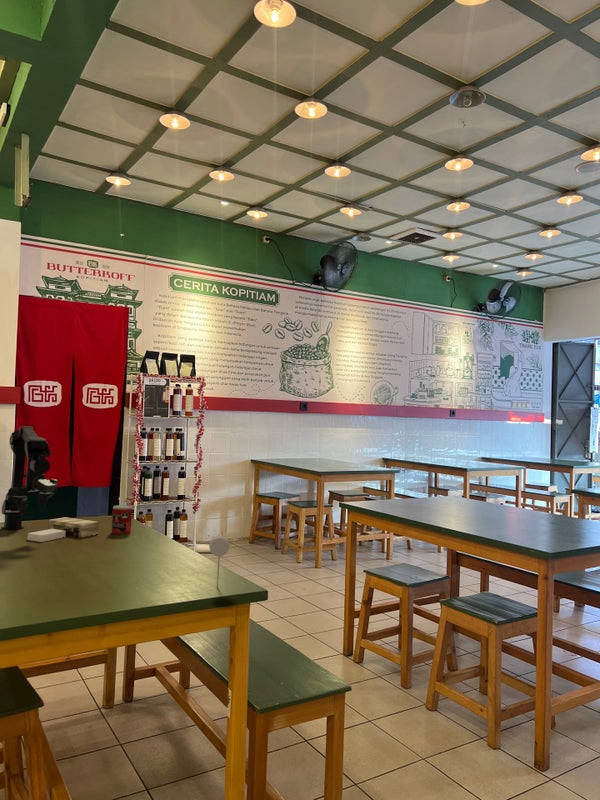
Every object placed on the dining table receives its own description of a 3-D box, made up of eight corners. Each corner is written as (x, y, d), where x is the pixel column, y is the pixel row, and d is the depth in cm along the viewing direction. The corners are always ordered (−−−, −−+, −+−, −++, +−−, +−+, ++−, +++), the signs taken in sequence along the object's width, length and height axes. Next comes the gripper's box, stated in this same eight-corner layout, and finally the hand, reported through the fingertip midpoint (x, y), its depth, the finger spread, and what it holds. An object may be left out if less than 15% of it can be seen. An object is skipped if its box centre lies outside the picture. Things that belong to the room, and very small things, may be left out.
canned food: (107, 533, 249) (109, 506, 250) (118, 530, 257) (120, 504, 257) (123, 535, 247) (125, 508, 248) (134, 532, 255) (135, 506, 255)
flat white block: (27, 539, 229) (28, 533, 229) (52, 535, 240) (52, 528, 240) (41, 542, 226) (41, 535, 227) (65, 537, 237) (65, 530, 238)
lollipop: (218, 583, 181) (220, 533, 181) (231, 587, 177) (234, 536, 177) (202, 587, 176) (205, 535, 176) (216, 591, 172) (219, 539, 173)
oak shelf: (48, 532, 246) (49, 519, 246) (65, 529, 254) (65, 517, 254) (82, 537, 238) (83, 524, 239) (98, 534, 247) (99, 521, 247)
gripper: (31, 474, 215) (28, 518, 214) (69, 472, 232) (66, 512, 231) (8, 472, 219) (5, 515, 218) (47, 470, 236) (44, 509, 236)
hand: (32, 513), depth 226 cm, fingers open, 9 cm apart
